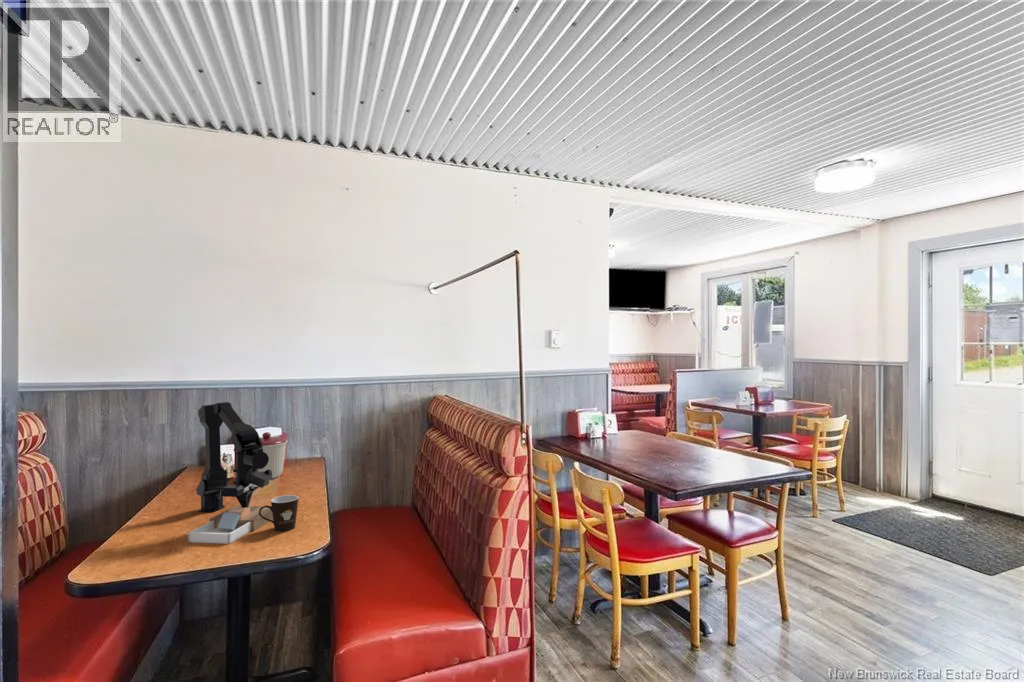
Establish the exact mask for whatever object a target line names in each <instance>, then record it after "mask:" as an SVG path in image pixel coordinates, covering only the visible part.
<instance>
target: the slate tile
mask: <svg viewBox="0 0 1024 682" xmlns="http://www.w3.org/2000/svg"><path fill="white" fill-rule="evenodd" d="M240 516H241V515H239V514H238V513H223V515H222V518H221V520H220V522H219V525H218V527H217V528H219V529H220V530H235V528H236V525H237V523H238V520H239V518H240Z"/></svg>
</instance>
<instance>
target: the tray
mask: <svg viewBox="0 0 1024 682" xmlns="http://www.w3.org/2000/svg"><path fill="white" fill-rule="evenodd" d="M250 532H251V522H248V523H246V524H245V525H243V526H241V527H239V528H238V529H235V530H220V529H219V528H214V520H212V521H210V520H209V521H208V522H206V523H205V524H202V525H200V526H198V527H196V528H195V529H192V530H190V531H188V532H187V541H188V543H202V544H225V545H230V544H232V543H234V542H235V541H237V540H239V539H240V538H242V537H244V536H245V535H246V534H248V533H250Z"/></svg>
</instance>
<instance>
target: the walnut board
mask: <svg viewBox="0 0 1024 682" xmlns="http://www.w3.org/2000/svg"><path fill="white" fill-rule="evenodd" d="M236 507H242V506H241V505H234V506H232V507H231V508H228V509H227V510H224V511H222V512H220V513H218V514H216V515H214V516H212V517H210V518H209V522H210V521H212V520H214V528H217V527H218V525H219V522H220V520H221V518H222V515H223V513H227V512H228V511H230V510H232V509H234V508H236ZM261 507H263V505H258V506H256V505H249V506H248V508H250V514H248V515H246V516H244V517H243V518H239V520H238V523H237V525H236V528H235V529H238V528H239V527H241V526H243V525H245V524H246V523H248V522H251V531H252V532H255V531H257V530H258V529H259V528H261V527H263V526H265V525H266V524H268V523H271V522H270V521H267V520H265V519H263V518H262V517H261V516H260V515H259V510H260V508H261ZM261 515H262V516H263V517H265V518H267V519H270V520H273V513H272V511H271V510H270V508H268V507H265V508H263V509H262V510H261ZM251 531H250V532H251Z"/></svg>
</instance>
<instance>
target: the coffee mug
mask: <svg viewBox="0 0 1024 682" xmlns="http://www.w3.org/2000/svg"><path fill="white" fill-rule="evenodd" d="M270 504H271V506H270V505H264V506H263V505H262V506H263V507H261V508H260V510H259V515H260V516H261V517H262V518H263V519H265V520H267V521H270V522H269V523H272V524H273V527H274V528H273V529H274V531H275V532H278V533H279V532H280V533H281V532H282V533H284V532H289V531H292V530H294V529H295V528H296V523H297V522H296V521H297V515H298V514H297V513H298V506H299V496H298V495H294V494H288V495H287V494H286V495H285V494H284V495H279V496H275V497H273V498H272V499H270ZM265 507H268V508H270V510H271V511H272V513H273V520H270V519H267V518H265V517H263V516H262V515H261V510H262V509H263V508H265Z"/></svg>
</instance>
